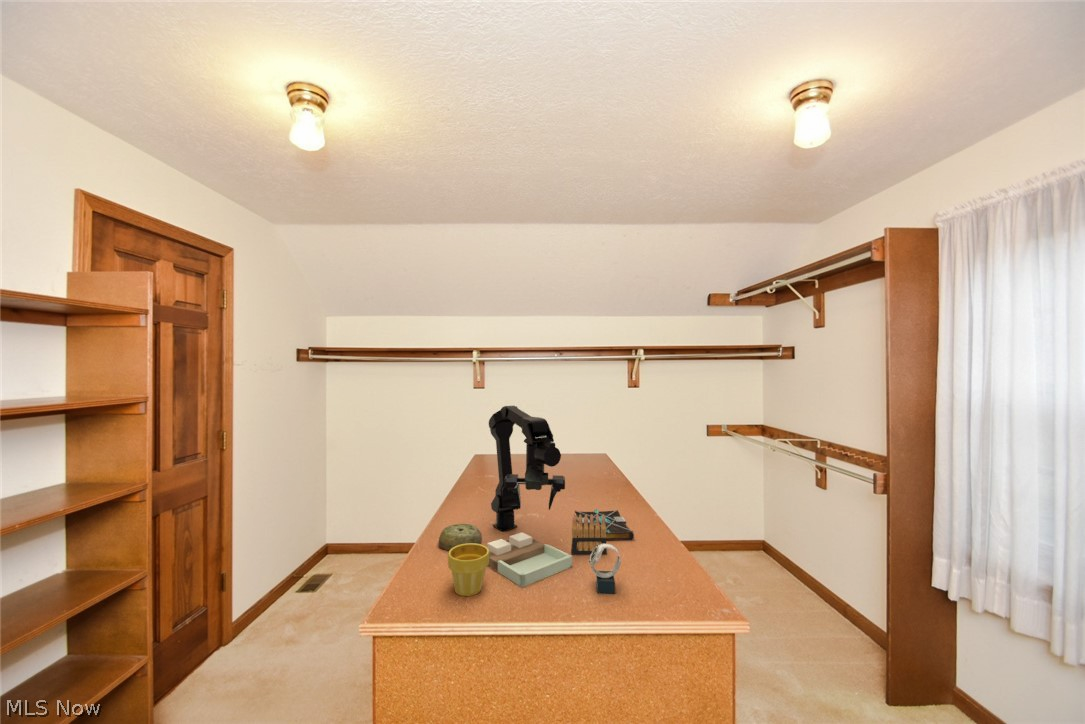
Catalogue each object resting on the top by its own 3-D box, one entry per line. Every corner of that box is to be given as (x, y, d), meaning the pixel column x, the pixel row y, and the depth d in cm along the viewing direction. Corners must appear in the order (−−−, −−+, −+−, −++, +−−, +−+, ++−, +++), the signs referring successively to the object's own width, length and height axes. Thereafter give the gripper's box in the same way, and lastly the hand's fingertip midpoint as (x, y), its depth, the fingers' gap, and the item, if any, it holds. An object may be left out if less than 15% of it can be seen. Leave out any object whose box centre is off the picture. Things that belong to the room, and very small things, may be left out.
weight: (489, 539, 143) (489, 524, 143) (465, 556, 131) (465, 539, 131) (455, 533, 149) (455, 518, 149) (429, 548, 137) (429, 532, 137)
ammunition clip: (571, 554, 132) (571, 515, 132) (571, 552, 133) (571, 513, 133) (607, 554, 132) (607, 515, 132) (606, 552, 133) (606, 512, 134)
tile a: (509, 542, 134) (509, 536, 134) (522, 538, 137) (522, 532, 137) (519, 548, 130) (519, 541, 130) (532, 543, 134) (532, 537, 134)
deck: (476, 558, 129) (476, 550, 129) (524, 542, 140) (524, 534, 141) (497, 571, 120) (497, 562, 120) (546, 553, 132) (546, 545, 132)
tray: (497, 571, 120) (497, 561, 120) (546, 553, 132) (546, 543, 132) (522, 587, 112) (522, 575, 112) (572, 566, 124) (572, 556, 124)
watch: (588, 582, 115) (588, 540, 115) (619, 583, 114) (619, 541, 114) (589, 593, 109) (589, 549, 109) (621, 594, 109) (621, 550, 109)
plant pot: (495, 593, 109) (495, 554, 109) (455, 604, 104) (455, 563, 104) (480, 576, 118) (480, 540, 118) (442, 585, 113) (442, 547, 113)
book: (634, 542, 142) (634, 526, 142) (582, 543, 141) (582, 527, 141) (618, 518, 164) (618, 505, 164) (573, 519, 163) (573, 506, 163)
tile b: (487, 549, 129) (487, 543, 129) (501, 545, 132) (501, 538, 132) (497, 555, 125) (497, 548, 125) (511, 550, 128) (511, 543, 128)
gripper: (501, 464, 128) (501, 517, 128) (565, 466, 127) (564, 519, 127) (506, 456, 139) (506, 504, 139) (565, 457, 138) (564, 506, 139)
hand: (534, 509), depth 136 cm, fingers open, 9 cm apart
